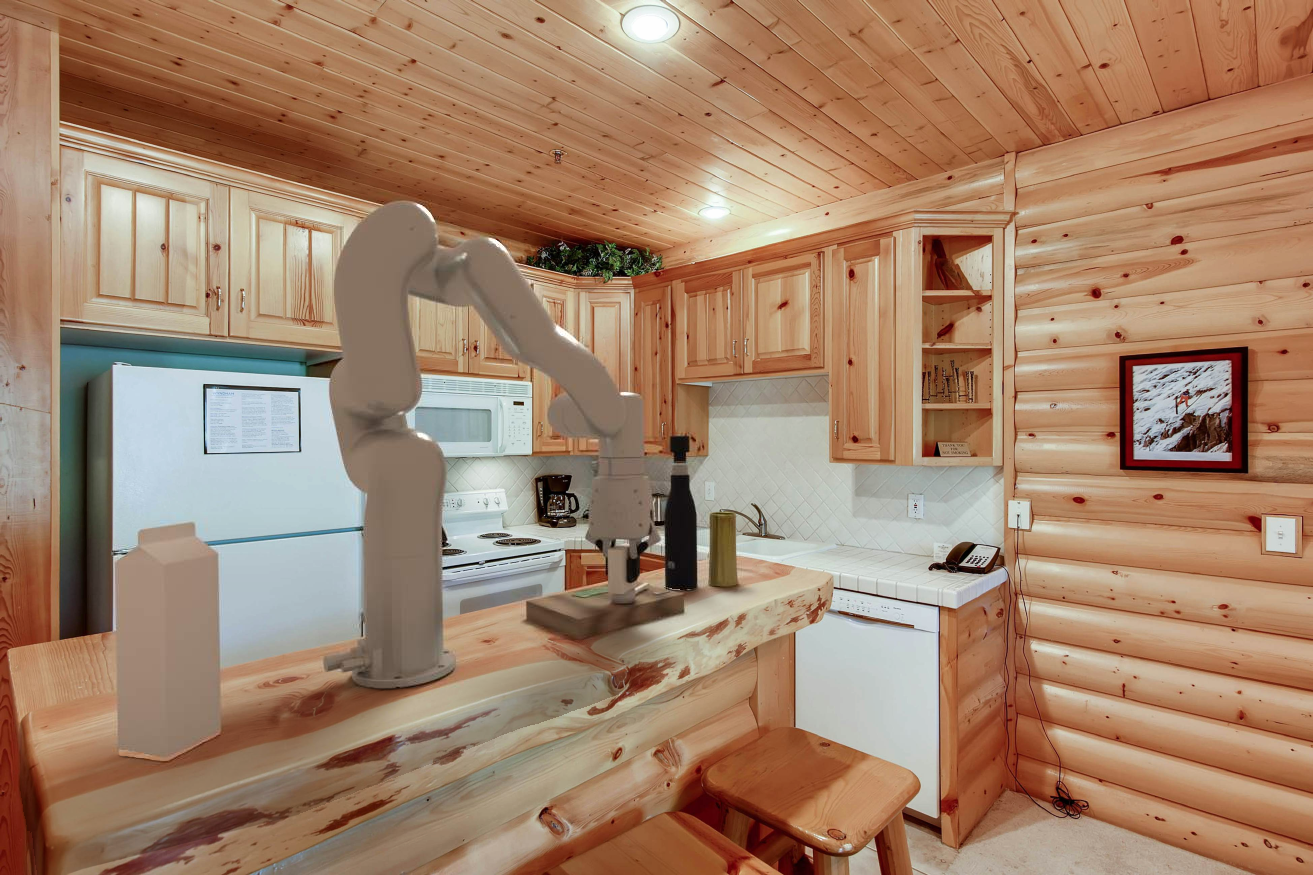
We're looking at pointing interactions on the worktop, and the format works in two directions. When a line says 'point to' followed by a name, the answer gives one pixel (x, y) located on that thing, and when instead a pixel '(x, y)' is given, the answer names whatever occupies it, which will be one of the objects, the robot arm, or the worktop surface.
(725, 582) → the vase
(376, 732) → the worktop surface
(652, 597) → the dial board
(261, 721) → the worktop surface
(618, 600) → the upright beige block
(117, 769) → the worktop surface
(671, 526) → the black bottle
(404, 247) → the robot arm
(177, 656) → the milk
